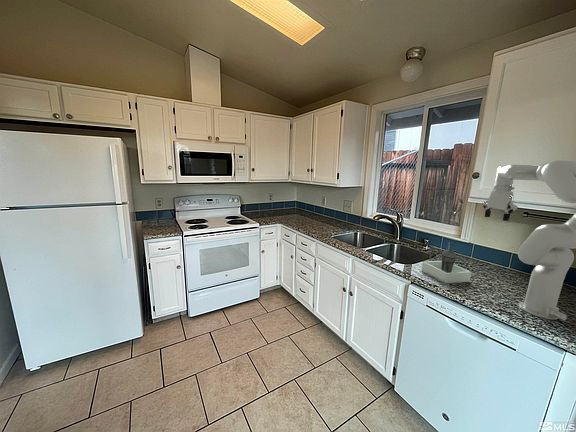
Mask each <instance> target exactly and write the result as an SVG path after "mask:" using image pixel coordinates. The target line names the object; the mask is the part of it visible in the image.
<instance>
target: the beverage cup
mask: <svg viewBox="0 0 576 432" xmlns="http://www.w3.org/2000/svg"><path fill="white" fill-rule="evenodd" d="M450 245H451V244H450V241H449V242H448V248H447V249H445V250H444V251H442V253H441V261H442V267H441V270H442V271H444V272H446V273H451V272H452V268H453V265H455V261H456V259H457V254H456V252H455V251H454V250H453V249H450Z"/></svg>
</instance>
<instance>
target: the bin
mask: <svg viewBox="0 0 576 432" xmlns="http://www.w3.org/2000/svg"><path fill="white" fill-rule="evenodd" d="M441 267H442V260H434V261H433V260H432V261H422V265H421V272H423V273H425V274H427V275H429V276H430V277H431V278H434V279H436V280H438V281H439V282H441V283H442V284H456V283H457V284H458V283H470V281H471V276H472V271H471V270H468V269H466V268H464V267H461V266H460V265H459V266H458V265H456V264H454V265H453V268H452V272H451V273H446V272H444V271H442V270H441Z"/></svg>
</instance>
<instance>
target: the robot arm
mask: <svg viewBox="0 0 576 432" xmlns="http://www.w3.org/2000/svg"><path fill="white" fill-rule="evenodd" d="M513 180H514V181H518V180H519V181H538V182H539V181H540V182H544V183H545V184H546V185H547V186H548V188H549V189H550V190H551V191H552V192H553V193H554V195H555V196H556V197H557V199H559V200H561V202H562V201H563V202H565V203H570V204H576V160H553V161H550V162H545V163H542V164H541V166H533V165H531V164H510V165H500V166H498V167H497V170H496V177H495V181H494V185H493V190H491V191H490V194H489V197H488V200H485V201H486V202H485V201H483V202H484V203H483V202H482V206H483V208H484V211H485V212H484V218H490V217H491V213H492V209H497V210H503V211H504V212H505V213H504V214H503V218H502V221H503V222H509V221H510V218H511V217H510V216H511V215H512V214H513V213H514V212H515V211H516V210H517V209H518V208H519V207H518V205H516V204H515V203H514V200H513V201H512V197H511V196H510V195H512V196H513V197H514V191H513V190H515V187H514V186H513V187H512V184H513V185H514V182H513ZM510 185H511V186H510ZM511 190H512V191H511ZM509 197H511V198H509ZM486 203H487V204H486ZM571 249H573V250H574V249H576V212H575V213H574V214H573V215H572V216H571V217H570V218H569V219H568V220H567V221H566V222H564V223H561V224H559V223H557V224H556V223H546V224H545V223H544V224H541V225H540V226H538V227H536V228H535V229H534V230H533V231H532V232H531V233H530V234H529V236H528V237H527V238H526V239H525V240H524V241H523V243H522V244H521V245H520V246H519V248H518V251H517V256H518V259H519V261H520V262H522V263H524V264H526V265H531V266H535V267H534V268H533V269H532V271H531V274H530V278H529V283H528V286H527V290H526V294H525V298H524V301H520V302H518V307H519V308H520V309H521V310H522V311H524V312H526V313H527V314H530V315H532V316H535V317H539V318H543V319H547V320H553V321H555V320H558V319H560V320H562V321H566V320H567V314H565V313H563V312H560V311H559V310H560V308H559V307H558V306H557V305H558V302H559V298H560V294H561V292H562V291H561V290H562V288H563V284H564V280H565V279H566V275H567V273H568V271H569V269H570V268H571V266H572V265H573V263H574V260H575V255H574V252H573V250H571Z"/></svg>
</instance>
